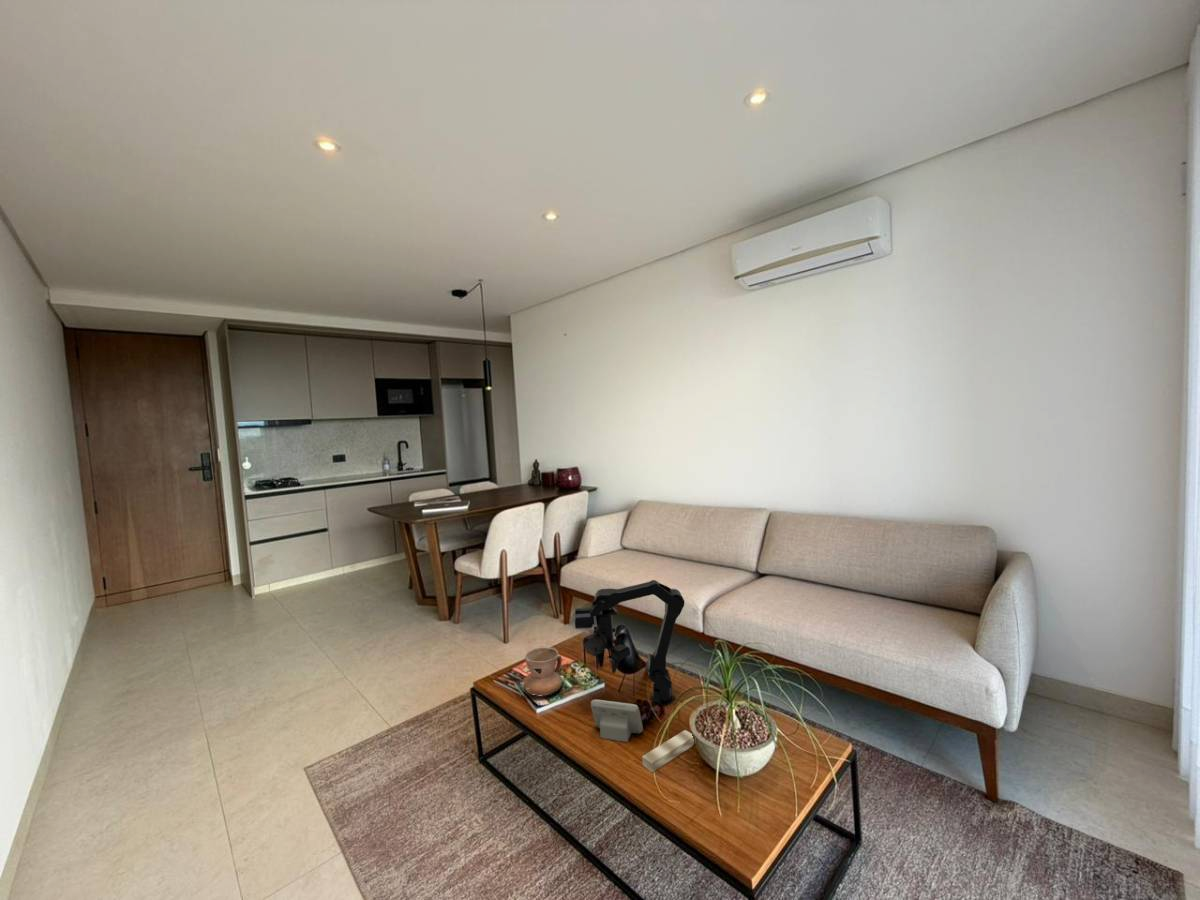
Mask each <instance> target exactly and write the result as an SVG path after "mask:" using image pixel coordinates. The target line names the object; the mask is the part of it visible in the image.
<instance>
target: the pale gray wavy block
mask: <svg viewBox="0 0 1200 900" xmlns="http://www.w3.org/2000/svg"><path fill="white" fill-rule="evenodd" d="M692 734H693V733H691V732H690V731H688V730H686V729H684V730H682V731H681V732H679V733H678V734H676V735H674V736H673V737H672V738H670V739H668V740H666V741H665V742H662V743H661V744H660V745H658V746H656V747H655V748H653V749H651V750H650V751H649V752H647V753H646V754H644V755H642V756H641V759H642V760H641V761H642V766H643V767H645V768H646V769H647V770H648V771H650V772H651V773H653V772H656V771H657V770H658V769H660V768H661V767H663V766H664V765H666V764H667V763H670V762H671V761H672V760H674V759H675V758H677V757H678V756H680V755H681V754H682V753H684V752H685V751H687V750H689V749H691V748H692V747H693V745H694V739H693V736H692ZM694 746H695V745H694Z"/></svg>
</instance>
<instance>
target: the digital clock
mask: <svg viewBox="0 0 1200 900" xmlns="http://www.w3.org/2000/svg"><path fill="white" fill-rule="evenodd" d="M590 709H591V711H592V715H593V718H594V724H595V726H596V727H597V728H599V731H600V732H599V733H600V738H601V739H604V740H605V739H606V740H612V741H618V742H622V743H623V742H624V743H628V742H629V740H630V737H631V735H632V734H633V733H634V734H641V733H642V732H643V730H644V728H643V727H644V726H643V721H642V717H641V711H640V708H639V706H638V705H637V704H634V703H627V702H621V701H613V700H612V701H611V700H610V701H609V700H604V699H603V700H602V699H593V700H591V701H590Z"/></svg>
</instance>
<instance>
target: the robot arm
mask: <svg viewBox="0 0 1200 900" xmlns="http://www.w3.org/2000/svg"><path fill="white" fill-rule="evenodd" d="M651 595H653V596H655V597H657V598H658V599H659V600H661V601H662V602H663V603H664V616H663V619H662V622H661V625H660V626H661V628H660V632H659V635H658V638H657V642H656V646H655V649H654V651H653V653H648V656H647V660H646V662H645V667H646V672H647V673H648V677H649V679H650V681H651V682H652V683H653V689H652V694H653V695H652V697H651V698H650V700H651V701H653V702H655V703H656V704H659V705H661V706H663V707H666V706H667V705H668V704H670V703H672V702H673V701H675V700H676V696H674V695H673V686H672V684H673V682H672V678H671V676H670V675H671V674H670V672H669V670H668V669H667V654H668V651H669V647H670V643H671V639H672V635H673V633H674V632H673V631H674V628H675V624H676V621H677V618H678V617H679V616H680V615H681V614H682V612H683V608H684V607H685V599H684V597H683V595H682V593H681V591H680V590H679V589H677V588H670V586H667V585H665V584H663V583H660V582H659V581H657V580H656V579H653V580H650V581H647V582H643V583H639V584H634V585H630V586H625V587H621V588H612V587H611V588H601V589H598V590H597V591H596V592H595V596H594V600H593V601H592V602H591V604H590V607H589V608H588V607H587V608H575V610H574V613H575V617H574V627H575V630H581V629H583V630H584V629H592V627H594V626H595V625H596V629H594V632H593V633H591V634H589V635H587V636H584V638H583V641H582V645H583V647H584V649H585V651H586V653H587V654H589V655H592V657H595V658H596V661H597V663H598V666H599V667H600V668H603V666H604V660H605V651H609V652H610V655H609V656H607V658H608V659H609V660H610V666H611V672H612V674H615V673H616V671H617V669H618V666H619V665H620V662H621V660H624V659H625V658H628V657H629V656H630V655H631V648H630V647H629V646H627V645H624V644H623V643H622V644H619V645H615V644H616V643H617V639H614V638H615V637H614V633H615V632H616V628H615V627H614V624H613V616H616V615H618V609H617V608H615V607H616V606H617V605H619V604H621V603H623V602H627V601H631V600H637V599H640V598H644V597H648V596H651Z"/></svg>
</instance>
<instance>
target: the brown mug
mask: <svg viewBox="0 0 1200 900" xmlns="http://www.w3.org/2000/svg"><path fill="white" fill-rule="evenodd" d="M524 659H525V660H524V661H525V663H526V666H527V667H524V668H523V669H522V672H523V674H527V673H529V672H530V673H529V674H527V676H526V677H525V678H524V679H523V689H524V690H526V691H527V692H528V693H531V694H535V695H546V694H551V693H553V692H555V691H556V692H557V691H559V690H558V689H560V688H561V687H562V684H563V678H562V676H561V675H560V670H561V668H562V664H563V663H562V662H563V658H562V656H561V654H559V652H558V650H557V649H556V648H554V647H551V646H540V647H534V648H532V649H530V650H528V651H527V652H526V653H525V655H524ZM526 691H525V692H526ZM527 692H526V693H527ZM556 692H555V693H556ZM528 693H527V694H528ZM553 694H554V693H553ZM551 695H552V694H551Z"/></svg>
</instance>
